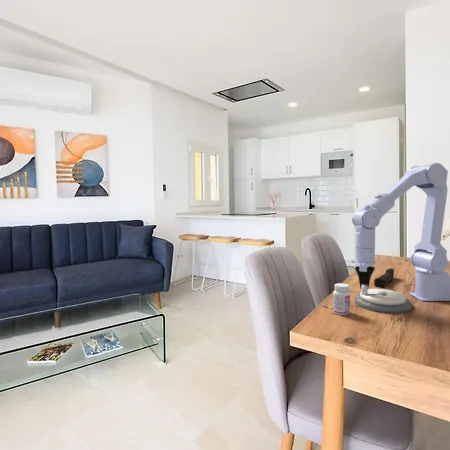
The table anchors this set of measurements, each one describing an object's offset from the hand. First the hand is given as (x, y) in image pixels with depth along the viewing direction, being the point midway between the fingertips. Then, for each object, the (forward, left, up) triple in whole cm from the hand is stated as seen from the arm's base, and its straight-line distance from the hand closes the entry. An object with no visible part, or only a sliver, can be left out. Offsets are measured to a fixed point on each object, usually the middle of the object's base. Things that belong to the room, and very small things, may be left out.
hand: (364, 289), depth 104 cm
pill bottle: (+10, +9, -5) cm, 14 cm away
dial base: (-5, +2, -5) cm, 7 cm away
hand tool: (-17, -25, -5) cm, 31 cm away
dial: (-5, +1, -3) cm, 6 cm away
